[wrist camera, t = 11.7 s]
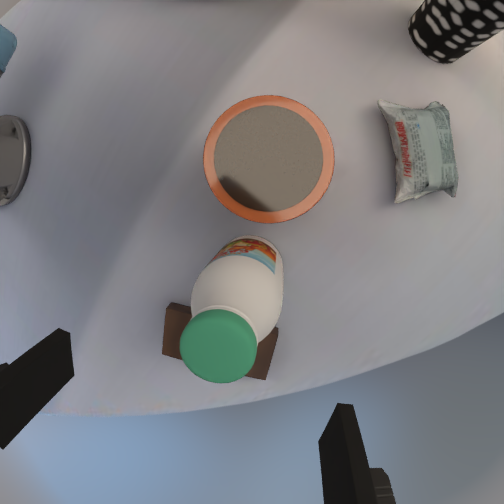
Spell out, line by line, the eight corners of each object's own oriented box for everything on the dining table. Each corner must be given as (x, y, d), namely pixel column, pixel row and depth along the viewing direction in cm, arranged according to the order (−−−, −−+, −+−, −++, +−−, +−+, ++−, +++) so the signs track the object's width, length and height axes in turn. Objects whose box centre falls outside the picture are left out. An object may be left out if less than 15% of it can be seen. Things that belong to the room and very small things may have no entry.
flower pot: (214, 203, 35) (191, 209, 26) (233, 110, 33) (217, 86, 24) (309, 223, 35) (319, 236, 26) (329, 129, 32) (345, 110, 23)
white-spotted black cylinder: (410, 4, 27) (470, -76, 7) (460, 31, 26) (536, -28, 7) (404, 46, 29) (480, -34, 9) (457, 73, 28) (550, 23, 9)
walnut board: (166, 347, 40) (161, 354, 38) (171, 302, 38) (166, 307, 36) (266, 372, 39) (265, 380, 37) (278, 327, 38) (278, 335, 36)
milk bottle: (296, 263, 36) (311, 350, 16) (254, 309, 37) (228, 422, 18) (245, 220, 35) (200, 262, 16) (205, 269, 37) (132, 352, 18)
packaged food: (387, 201, 33) (403, 204, 28) (372, 103, 31) (385, 91, 26) (447, 196, 32) (468, 198, 27) (433, 104, 30) (452, 94, 25)
